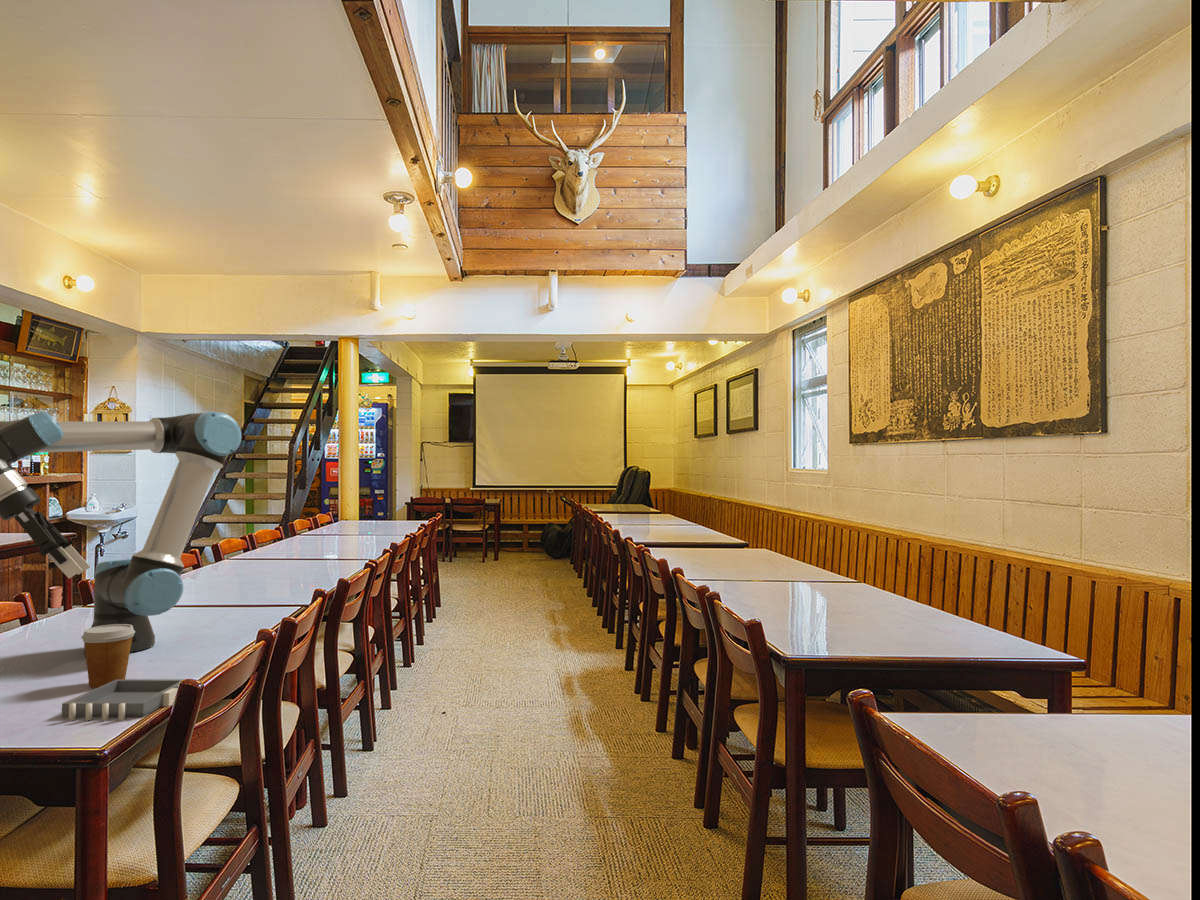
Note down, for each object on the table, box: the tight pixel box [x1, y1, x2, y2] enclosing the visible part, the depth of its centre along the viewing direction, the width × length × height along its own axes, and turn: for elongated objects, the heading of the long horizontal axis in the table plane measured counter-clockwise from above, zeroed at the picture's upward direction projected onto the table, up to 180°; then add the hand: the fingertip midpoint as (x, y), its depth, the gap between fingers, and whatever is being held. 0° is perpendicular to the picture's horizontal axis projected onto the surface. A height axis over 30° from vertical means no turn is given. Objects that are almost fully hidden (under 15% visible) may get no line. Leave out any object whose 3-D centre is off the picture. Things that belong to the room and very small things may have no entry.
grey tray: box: [61, 678, 186, 722], centre depth 135 cm, size 17×16×3 cm
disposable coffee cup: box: [81, 624, 135, 689], centre depth 148 cm, size 10×10×12 cm
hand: (80, 572), depth 151 cm, fingers open, 13 cm apart
